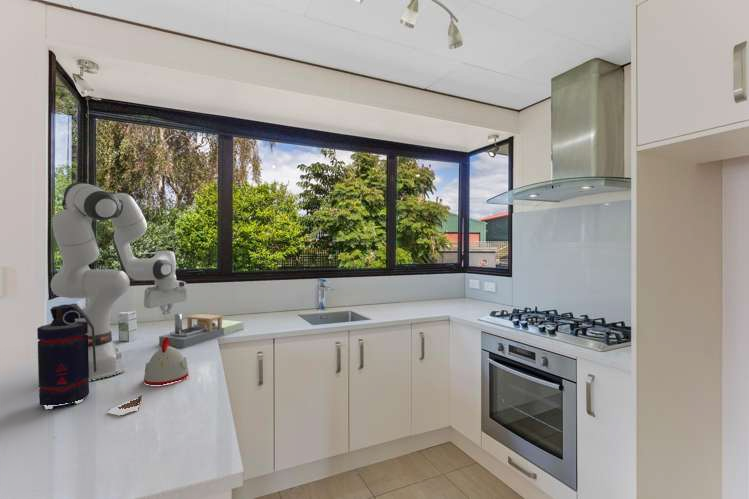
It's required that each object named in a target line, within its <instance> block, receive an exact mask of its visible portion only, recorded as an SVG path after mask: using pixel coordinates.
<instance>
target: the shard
mask: <svg viewBox="0 0 749 499" xmlns="http://www.w3.org/2000/svg"><path fill="white" fill-rule="evenodd" d="M137 397H138V399H136V400H133V401H130V403H127V404H124V405H122V406H121V407H118V408H119V409H121V408H122V409H123V408H124V409H126V408H130V407H133V406H134V407H135V406H137V405H139V404H140V405H141V403H140V401H141V402H142V397H143V395H142V394H141V395H140V396H137ZM138 403H139V404H138Z"/></svg>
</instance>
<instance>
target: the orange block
mask: <svg viewBox="0 0 749 499" xmlns="http://www.w3.org/2000/svg"><path fill="white" fill-rule="evenodd" d="M196 322H197V324H198V325H206V328H208V321H207V320H198V321H197V320H196Z"/></svg>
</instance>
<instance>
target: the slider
mask: <svg viewBox="0 0 749 499" xmlns="http://www.w3.org/2000/svg"><path fill="white" fill-rule="evenodd" d="M182 316H183V315H182V313H175V314H174V330H173V331H172V332H171V331H170V333H169V334H170V335H177V336H188V335H192V334H195V333H199V332H202V331H206V330H208V328H206V325H198V324H196V323H194V324H193V323H192V327H189V328H183V319H182V318H183V317H182ZM214 322H215V321H212V329H213V328H216V327H218V325H216V323H214ZM191 329H200V330H197V331H193V332H190V333H186V334H185V333H182V332H184V331H187V330H191Z"/></svg>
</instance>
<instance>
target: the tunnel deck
mask: <svg viewBox="0 0 749 499" xmlns="http://www.w3.org/2000/svg"><path fill="white" fill-rule="evenodd" d="M186 319H187V323H186V324H187V326H186V327H187V328H189V327H193V320H196V322H197V321H198V320H207V321H208V330H206V331H202V332H199V333H195V334H192V335H188V336H177V335H170V333H166V334H163V335H160V336H159V338H158V339H159V340H158V341H159V344H158V345H159V346H161V345H163V340H164V339H165V338H166V337H168V339H169V341H171V342H170V347H173V348H181V349H184V348H188V347H191V346H193V345H194V346H195V345H197V344H201V343H204V342H206V341H210V340H214V339H216V337H217V338H219V336H220V337H222V336H221V335H223V336H226V335H229V334H232V333H234V331H235V332H238V331H237V330H239V331H241V329H242V330H244V328H245V327H244V326H245V325H244V321H239V320H238V321H236V320H229V319H228V320H226V319H223V315H217V314H215V315H214V314H208V313H207V314H206V313H205V314H204V313H203V314H202V313H197V314H193V315H188V316H186ZM215 320H217V321H215ZM212 322H214V323H216V325H218V327H216V328H213V329H212ZM197 330H200V329H191V330H187V331H184V332H182V333H185V334H186V333H190V332H193V331H197ZM231 332H232V333H231ZM228 333H229V334H228ZM225 334H226V335H225Z"/></svg>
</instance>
